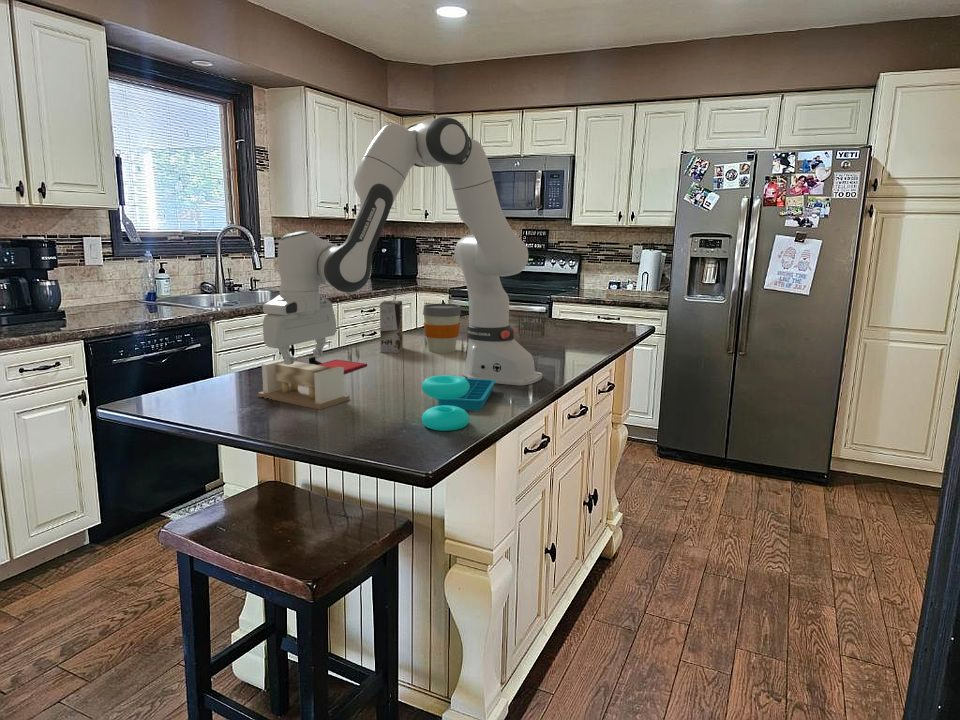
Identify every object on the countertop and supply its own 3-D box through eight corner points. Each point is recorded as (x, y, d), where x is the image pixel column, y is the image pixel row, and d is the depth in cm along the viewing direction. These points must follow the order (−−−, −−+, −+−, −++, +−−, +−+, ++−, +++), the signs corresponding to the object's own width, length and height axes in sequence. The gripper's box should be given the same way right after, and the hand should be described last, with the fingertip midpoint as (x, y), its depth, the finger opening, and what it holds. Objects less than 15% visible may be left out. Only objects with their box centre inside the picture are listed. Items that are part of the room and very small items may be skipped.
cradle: (349, 399, 153) (348, 367, 151) (319, 409, 145) (318, 375, 143) (289, 388, 163) (287, 357, 161) (258, 396, 154) (256, 364, 153)
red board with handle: (255, 382, 168) (300, 390, 163) (254, 372, 168) (300, 379, 162) (325, 362, 195) (367, 368, 190) (325, 353, 195) (367, 359, 189)
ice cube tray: (495, 391, 164) (496, 379, 164) (482, 413, 145) (482, 400, 144) (451, 388, 166) (451, 377, 166) (432, 410, 147) (432, 397, 146)
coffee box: (399, 353, 208) (399, 303, 205) (379, 352, 208) (379, 303, 205) (403, 347, 217) (402, 300, 214) (384, 347, 217) (383, 300, 214)
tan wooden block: (276, 380, 154) (275, 364, 153) (291, 376, 158) (291, 360, 157) (316, 388, 148) (315, 371, 147) (331, 383, 152) (330, 367, 151)
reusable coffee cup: (427, 346, 221) (427, 302, 218) (463, 347, 219) (463, 304, 216) (419, 353, 209) (419, 307, 205) (457, 354, 207) (457, 308, 204)
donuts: (476, 376, 136) (458, 387, 127) (476, 421, 138) (458, 435, 129) (434, 372, 139) (413, 382, 130) (434, 416, 141) (413, 429, 132)
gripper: (321, 296, 159) (324, 351, 162) (256, 306, 142) (261, 367, 145) (341, 298, 156) (343, 353, 159) (276, 308, 139) (281, 370, 142)
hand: (303, 360), depth 152 cm, fingers open, 8 cm apart
